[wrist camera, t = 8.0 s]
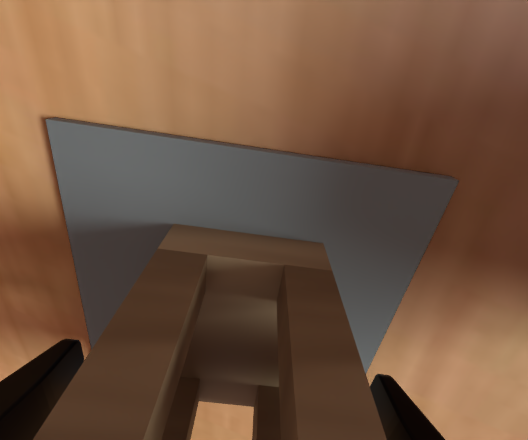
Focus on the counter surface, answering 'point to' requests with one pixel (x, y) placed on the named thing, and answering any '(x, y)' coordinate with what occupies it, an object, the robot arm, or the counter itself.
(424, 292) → the counter surface
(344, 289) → the mat
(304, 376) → the wooden chair
